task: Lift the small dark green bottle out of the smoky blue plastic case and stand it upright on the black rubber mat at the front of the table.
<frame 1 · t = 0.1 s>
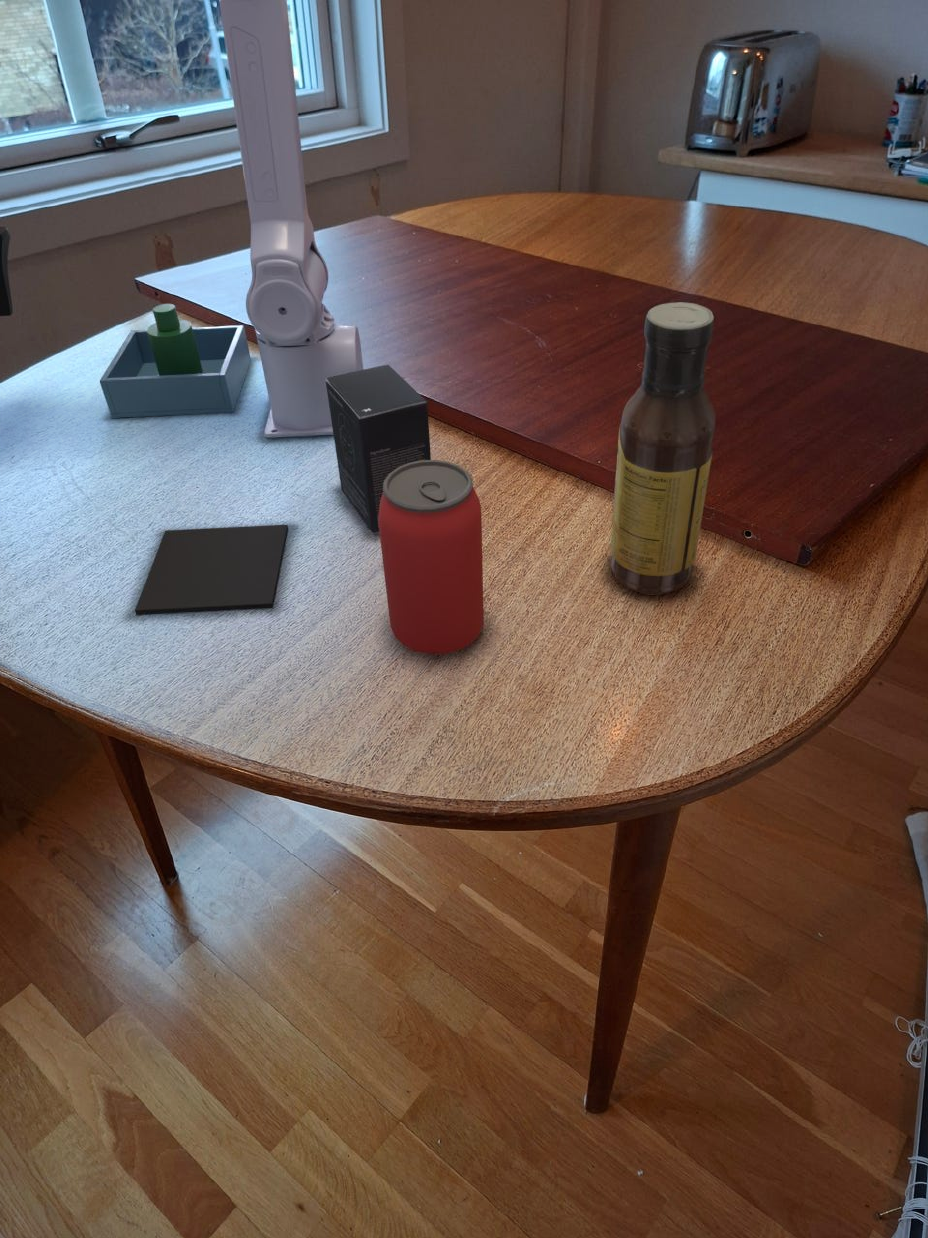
sauce bottle: (647, 574, 64), on the table
mat: (216, 569, 66), on the table
box: (387, 505, 72), on the table
case: (185, 387, 89), on the table
beer can: (437, 629, 60), on the table
bottle: (183, 383, 89), resting on case
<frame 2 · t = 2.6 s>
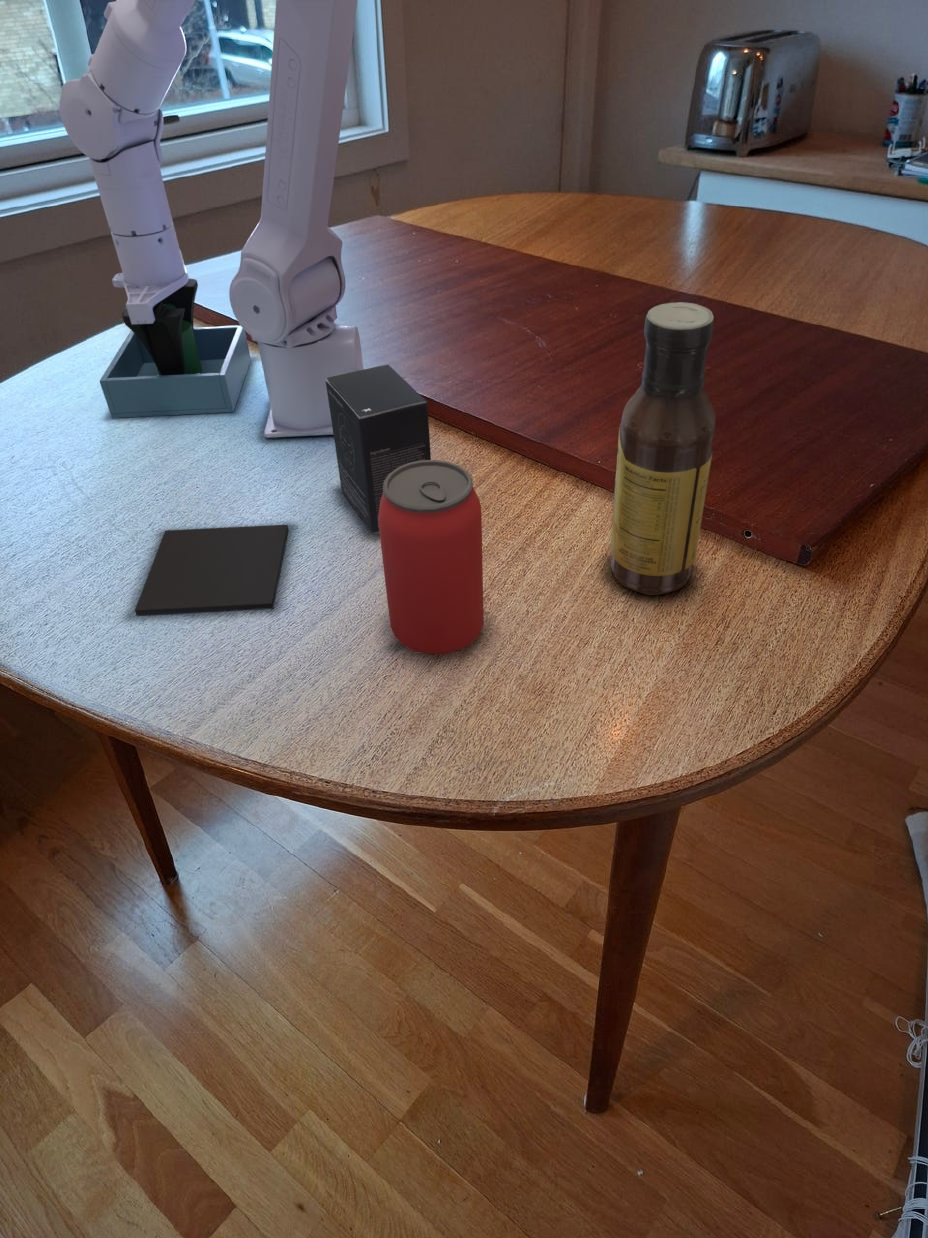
hand: (179, 365, 88), 3 cm above the table, tool pointing down, fingers closed on bottle, 4 cm apart
bottle: (183, 383, 89), point 1 cm above the table, touching case, gripper
everything else where it was.
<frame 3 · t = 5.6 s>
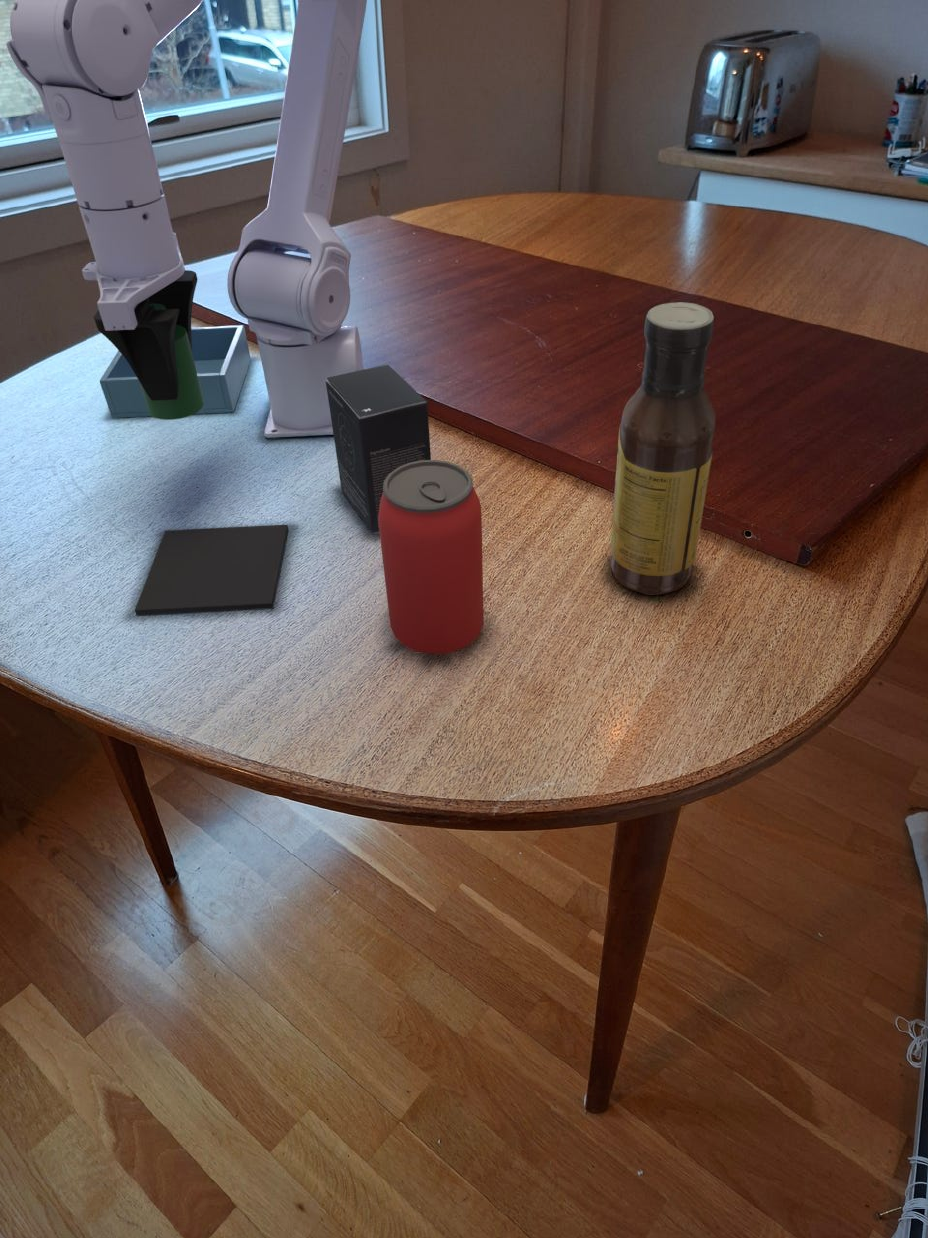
hand: (172, 383, 67), 10 cm above the table, tool pointing down, fingers closed on bottle, 4 cm apart
bottle: (176, 406, 68), point 8 cm above the table, touching gripper
everything else where it was.
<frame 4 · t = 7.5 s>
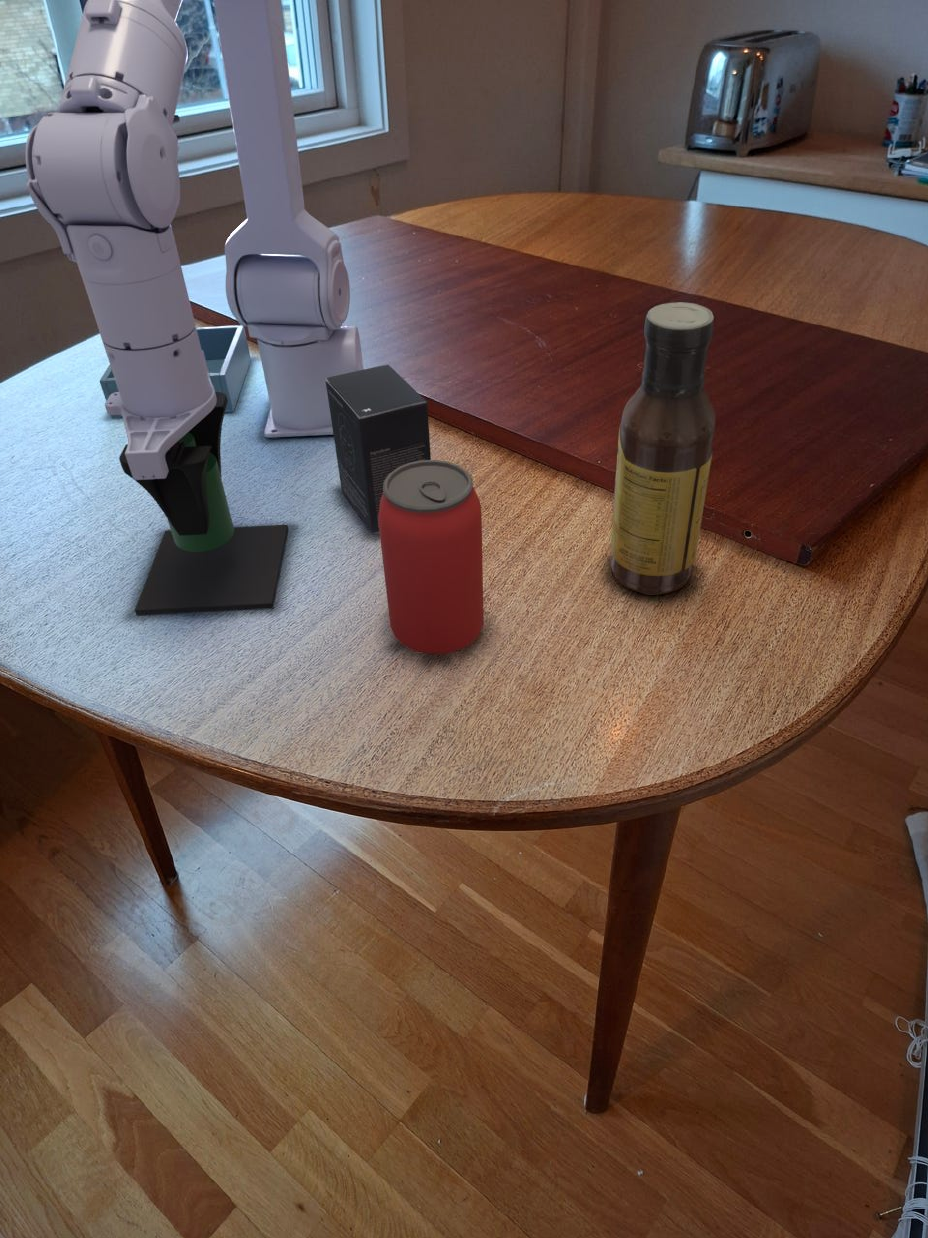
hand: (200, 512, 62), 5 cm above the table, tool pointing down, fingers closed on bottle, 4 cm apart
bottle: (204, 534, 63), point 3 cm above the table, touching gripper
everything else where it was.
when the fingers open (2 cm above the table, at t = 8.8 s): bottle stays where it is, resting on mat.
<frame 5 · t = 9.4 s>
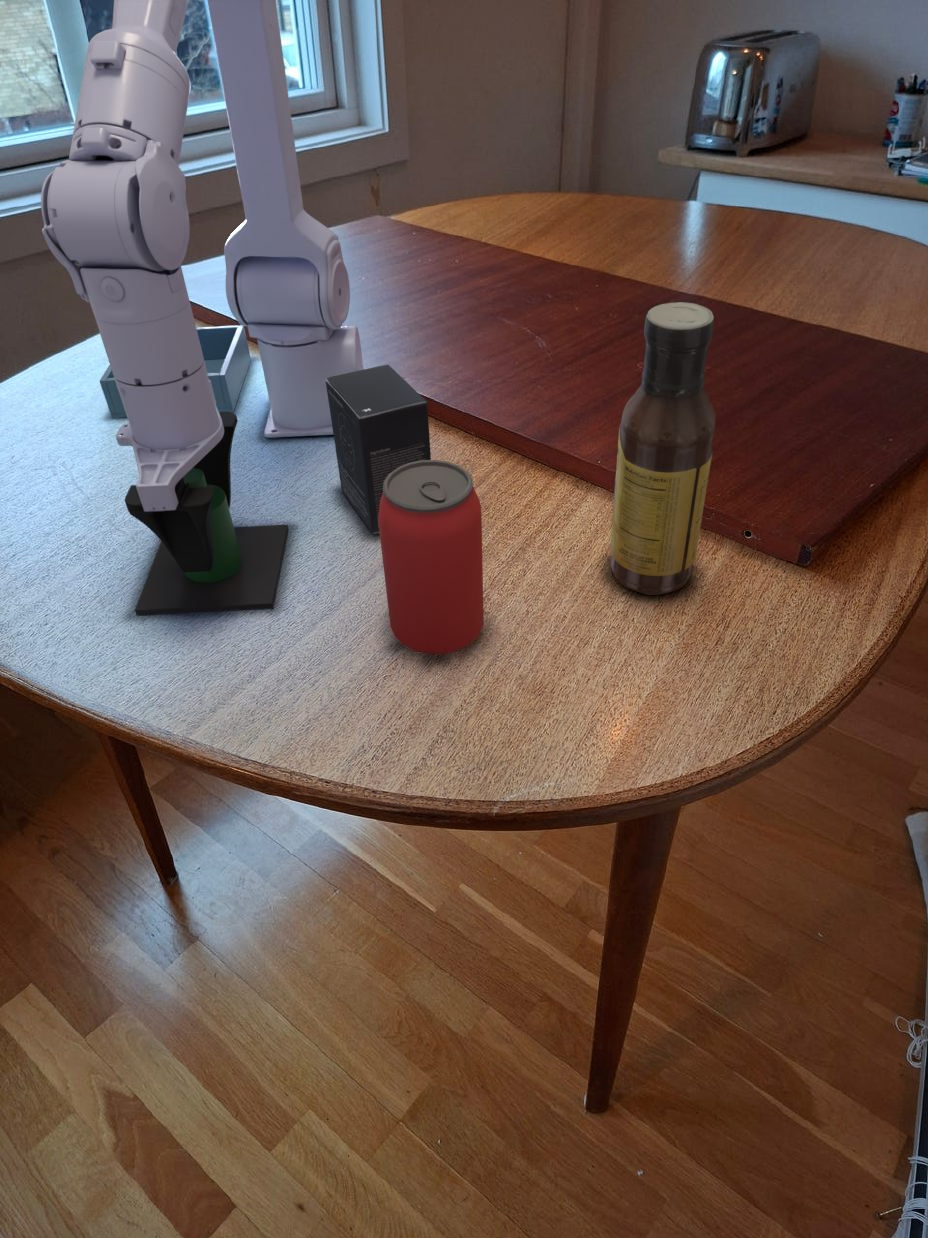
hand: (207, 537, 64), 3 cm above the table, tool pointing down, fingers open, 7 cm apart
bottle: (213, 565, 65), resting on mat
everything else where it was.
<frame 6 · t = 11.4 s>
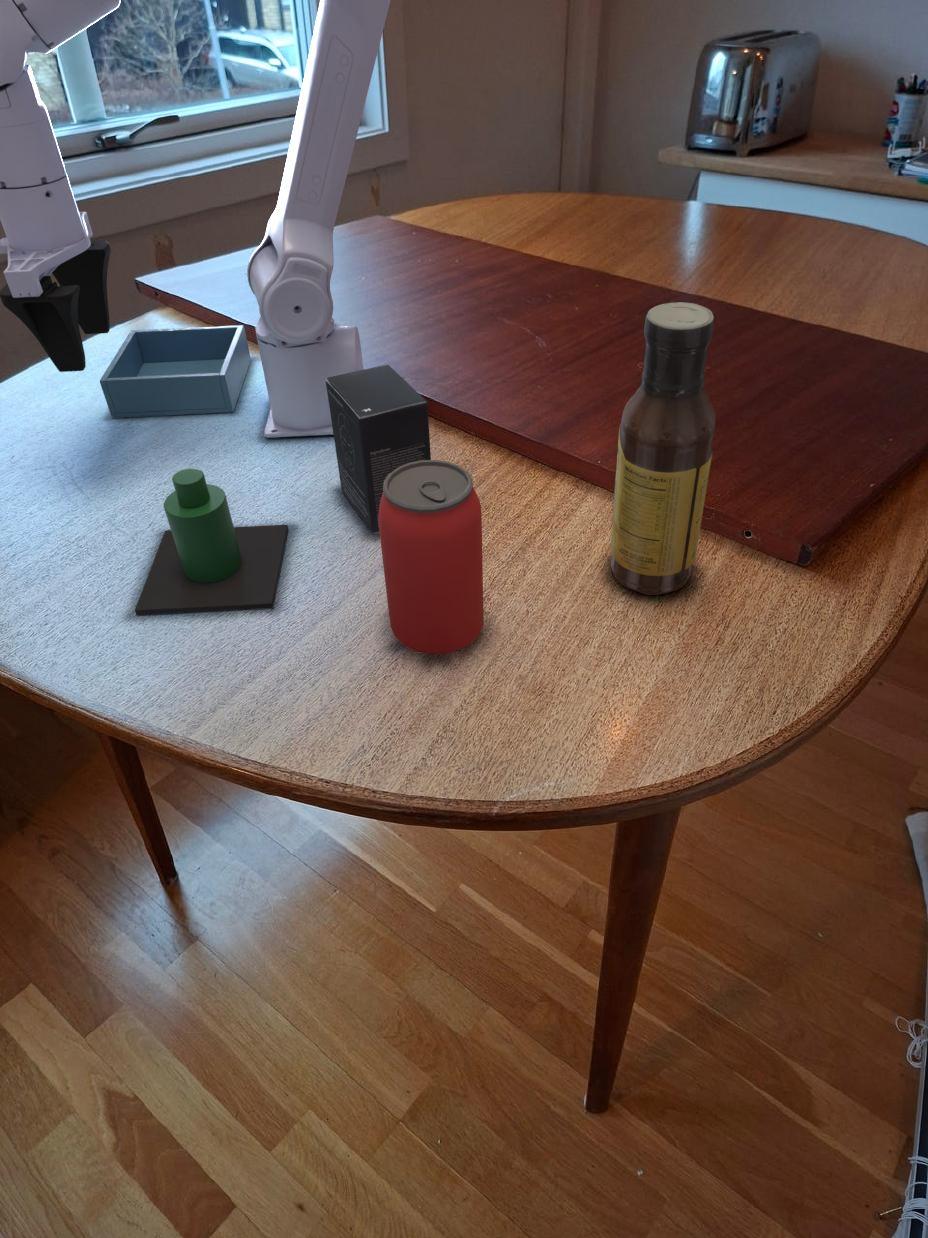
hand: (85, 350, 73), 10 cm above the table, tool pointing down, fingers open, 7 cm apart
nothing on the table moved.
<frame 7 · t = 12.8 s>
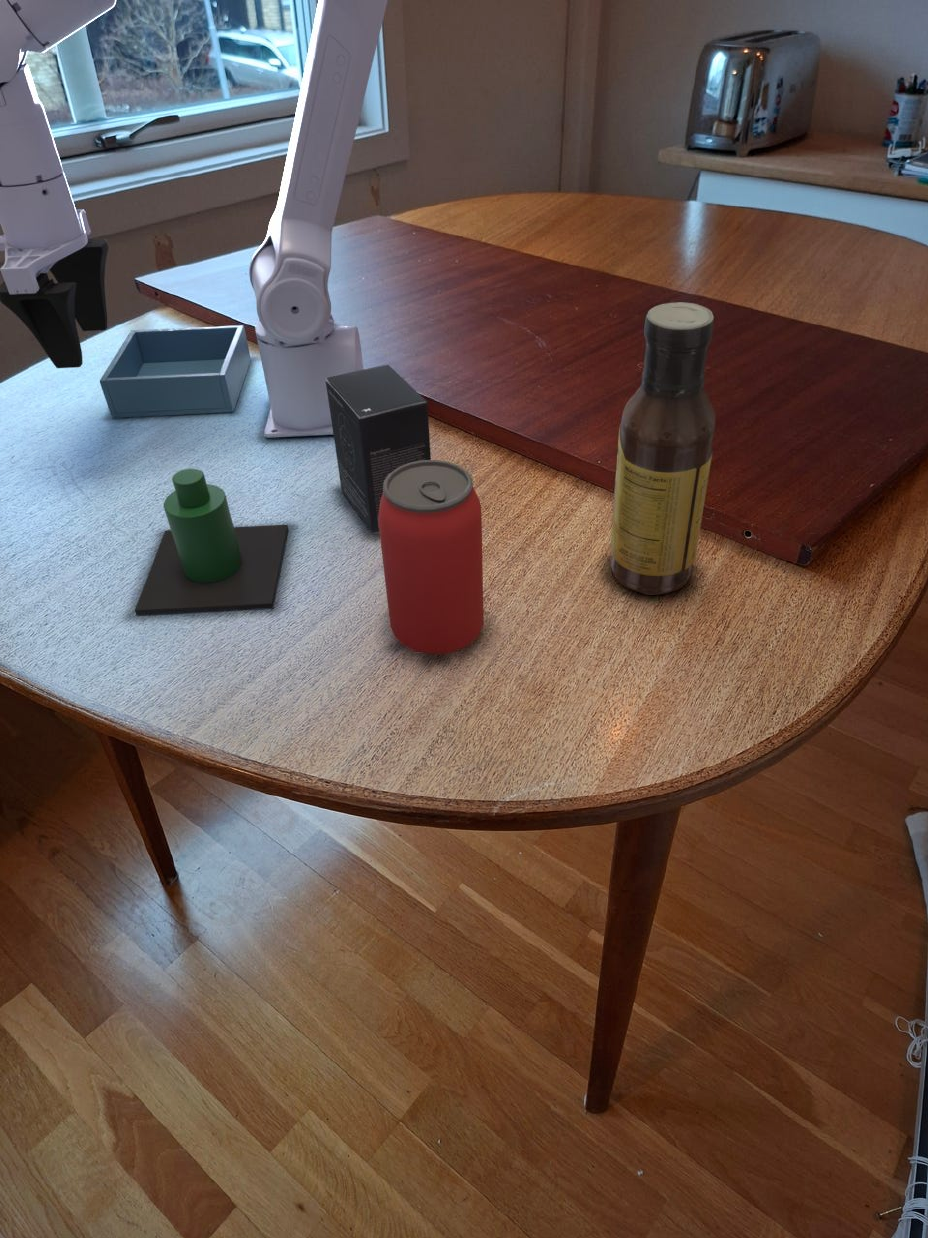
hand: (82, 346, 74), 10 cm above the table, tool pointing down, fingers open, 7 cm apart
nothing on the table moved.
at the end: bottle inside the target area on the mat (0.2 cm from its centre), point 0.5 cm above the mat's base; bottle tilted 0°; bottle touching mat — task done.
